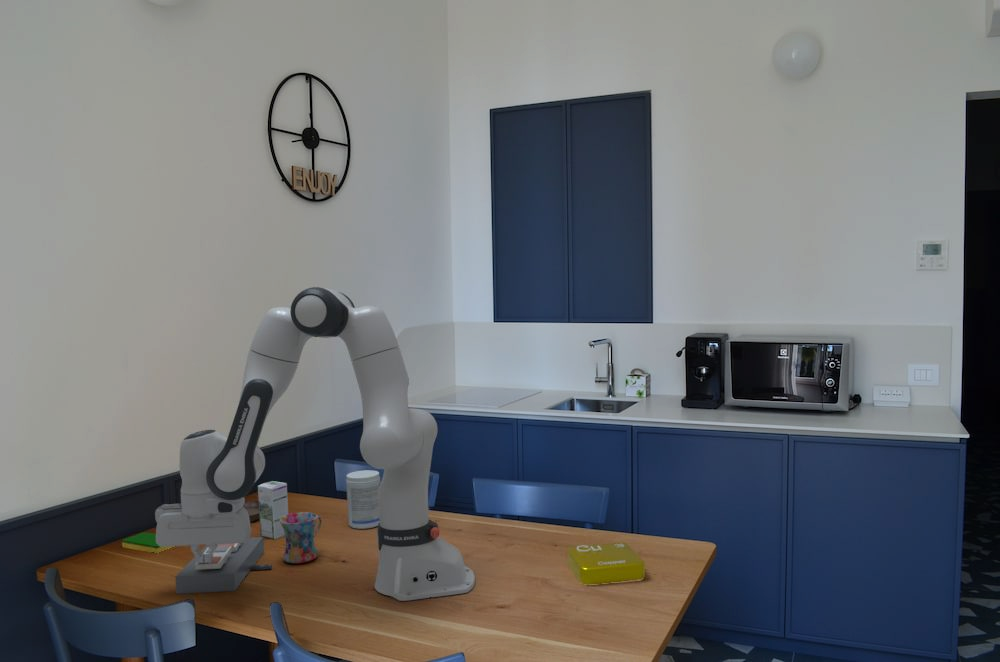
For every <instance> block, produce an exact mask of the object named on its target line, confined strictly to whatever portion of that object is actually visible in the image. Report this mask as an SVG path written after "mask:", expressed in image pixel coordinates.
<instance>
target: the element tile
mask: <svg viewBox="0 0 1000 662" xmlns="http://www.w3.org/2000/svg"><path fill="white" fill-rule="evenodd" d="M568 565H569V566H568ZM567 566H568V568H569V567H570V568H571V569H570V568H569V569H570V571H571V570H572V571H573V572H574V574H575V575H576V577H577V578H578V580H579V581H580V582H581V583H583V584H588V585H589V584H602V583H611V582H621V581H629V580H637V579H642V578H644V577H645V578H646V575H645V574H646V571H645V570H646V569H645V567H646V564H645V561H644V560H643V558H642V557H641V556H639V554H638V553H637V552H636V551H635V550H634V549H633V548H632V547H631V546H630V545H629V544H627V543H626V542H613V543H602V544H601V543H599V544H598V543H597V544H589V545H588V544H587V545H577V546H570V547H568V548H567ZM572 571H571V572H572ZM573 572H572V573H573ZM574 574H573V575H574ZM575 575H574V576H575ZM576 577H575V578H576ZM577 578H576V579H577ZM578 580H577V581H578ZM579 581H578V582H579Z"/></svg>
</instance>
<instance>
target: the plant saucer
mask: <svg viewBox="0 0 1000 662" xmlns="http://www.w3.org/2000/svg"><path fill="white" fill-rule="evenodd" d="M243 507H244V508H245V509H246V510H247V512H248V514H249V519H250V523H252V522H255V521H259V520H260V515H259V499H247V500H246V499H245V503H244V505H243Z"/></svg>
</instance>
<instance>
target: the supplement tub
mask: <svg viewBox="0 0 1000 662" xmlns="http://www.w3.org/2000/svg"><path fill="white" fill-rule="evenodd" d="M345 481H346V483H345V484H346V499H347V501H346V502H347V503H346V504H347V515H348V525H349V527H350V528H353V529H359V530H364V529H365V530H368V529H372V528H375V527H378V524H379V502H378V490H379V486H380V483H381V477H380V472H379V471H377V470H369V469H368V470H367V469H366V470H365V469H364V470H357V471H352V472H349V473H347V474H346V480H345Z"/></svg>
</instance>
